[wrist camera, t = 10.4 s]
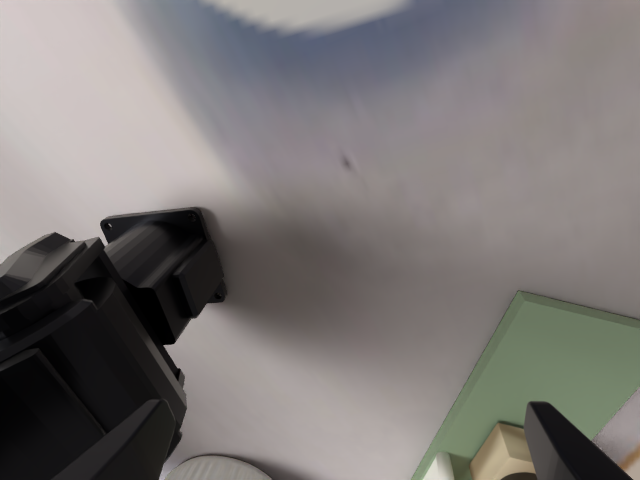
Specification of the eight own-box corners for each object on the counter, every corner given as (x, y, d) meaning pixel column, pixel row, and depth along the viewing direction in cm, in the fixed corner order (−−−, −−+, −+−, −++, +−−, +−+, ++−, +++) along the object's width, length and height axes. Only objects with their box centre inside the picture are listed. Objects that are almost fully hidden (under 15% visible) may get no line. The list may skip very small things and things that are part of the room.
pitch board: (404, 491, 32) (405, 503, 31) (518, 290, 22) (524, 300, 21) (507, 517, 32) (511, 530, 31) (669, 327, 22) (681, 339, 21)
